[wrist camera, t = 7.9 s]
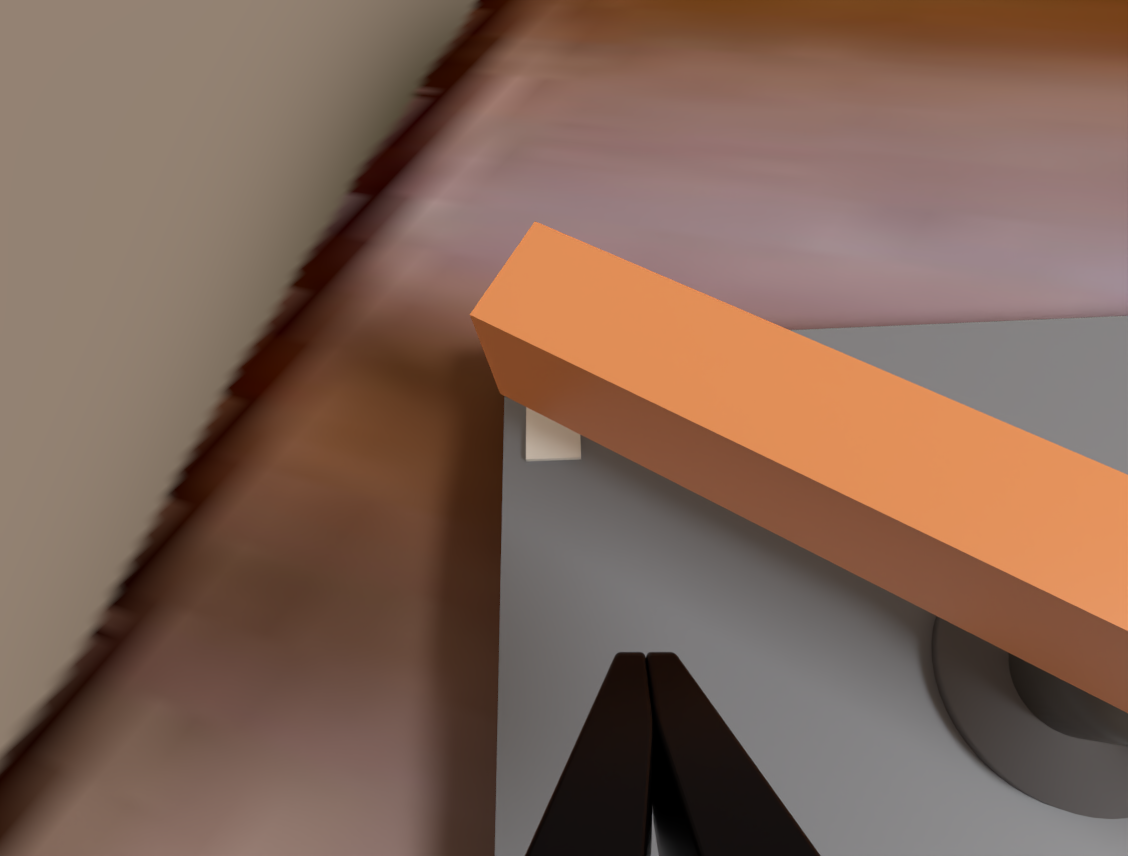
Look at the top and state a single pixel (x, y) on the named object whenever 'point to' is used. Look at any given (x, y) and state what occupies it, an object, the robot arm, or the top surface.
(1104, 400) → the panel
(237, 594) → the top surface
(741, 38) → the top surface
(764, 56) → the top surface
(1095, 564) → the handle
